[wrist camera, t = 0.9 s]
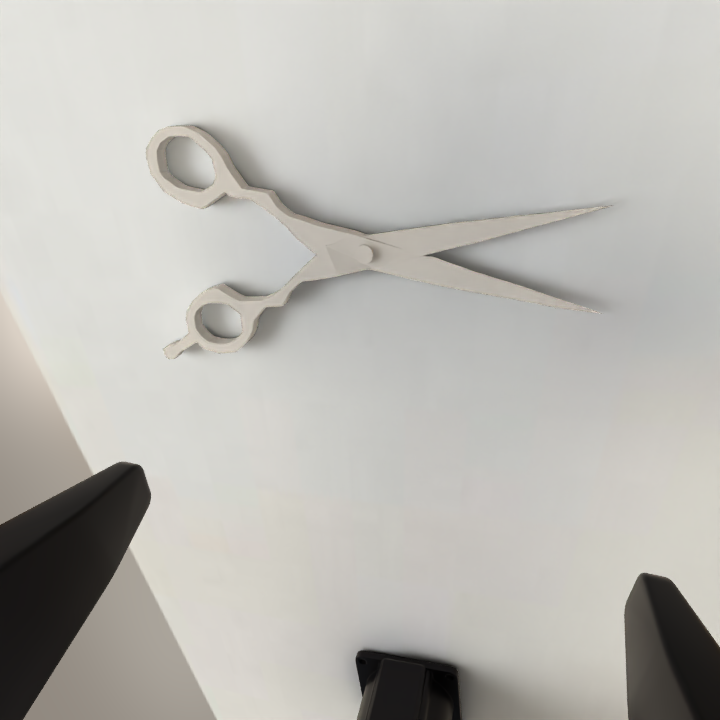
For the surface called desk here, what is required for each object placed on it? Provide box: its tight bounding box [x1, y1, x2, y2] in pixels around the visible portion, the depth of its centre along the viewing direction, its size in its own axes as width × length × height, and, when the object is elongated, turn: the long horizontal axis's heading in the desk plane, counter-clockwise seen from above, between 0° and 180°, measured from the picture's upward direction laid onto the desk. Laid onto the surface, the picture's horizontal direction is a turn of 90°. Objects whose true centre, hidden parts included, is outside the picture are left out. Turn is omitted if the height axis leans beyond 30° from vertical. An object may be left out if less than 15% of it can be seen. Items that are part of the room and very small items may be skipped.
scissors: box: [146, 126, 611, 359], centre depth 22 cm, size 11×1×20 cm
